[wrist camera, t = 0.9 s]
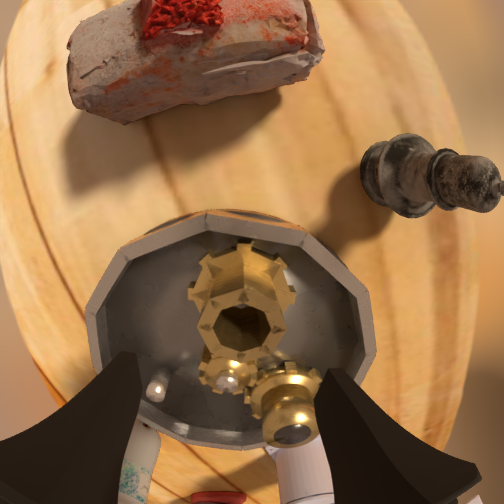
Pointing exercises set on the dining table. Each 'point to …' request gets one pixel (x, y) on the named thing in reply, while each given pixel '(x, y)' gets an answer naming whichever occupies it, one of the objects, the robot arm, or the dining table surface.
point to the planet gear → (241, 301)
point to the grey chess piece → (428, 178)
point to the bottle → (138, 464)
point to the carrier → (216, 367)
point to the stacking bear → (218, 498)
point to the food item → (188, 53)
